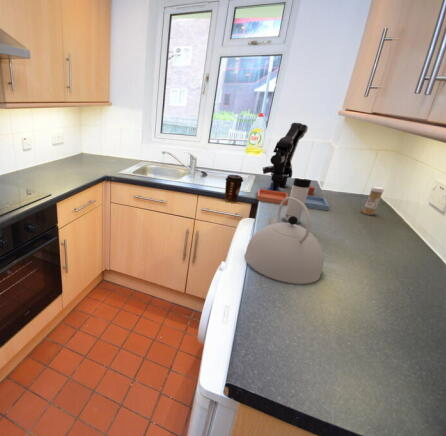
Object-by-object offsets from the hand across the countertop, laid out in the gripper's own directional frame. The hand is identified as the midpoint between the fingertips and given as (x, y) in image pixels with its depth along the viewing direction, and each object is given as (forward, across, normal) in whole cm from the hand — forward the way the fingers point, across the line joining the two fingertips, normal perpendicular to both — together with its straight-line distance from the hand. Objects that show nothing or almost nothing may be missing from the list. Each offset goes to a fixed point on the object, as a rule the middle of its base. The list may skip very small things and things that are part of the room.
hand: (274, 188), depth 177 cm
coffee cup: (+1, +32, -21) cm, 38 cm away
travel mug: (+1, +49, +7) cm, 50 cm away
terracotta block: (+1, -2, +18) cm, 18 cm away
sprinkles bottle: (+1, +19, +42) cm, 46 cm away
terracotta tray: (+1, +18, -1) cm, 18 cm away
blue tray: (+1, +17, +17) cm, 24 cm away
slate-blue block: (+1, 0, 0) cm, 1 cm away
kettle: (+1, +92, +1) cm, 92 cm away
